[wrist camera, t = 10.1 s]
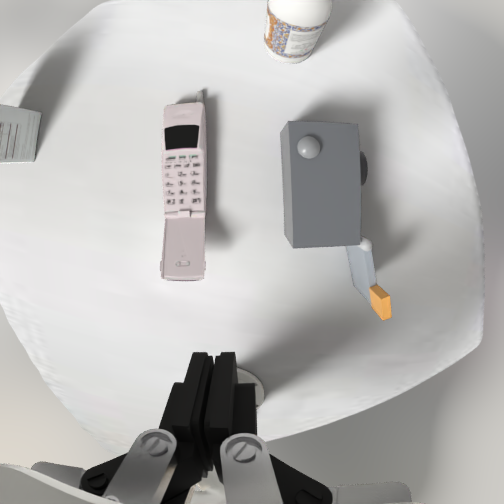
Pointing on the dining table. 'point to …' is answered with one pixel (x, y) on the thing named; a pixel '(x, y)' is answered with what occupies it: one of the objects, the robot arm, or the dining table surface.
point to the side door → (368, 277)
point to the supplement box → (18, 134)
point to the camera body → (322, 183)
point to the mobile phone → (184, 190)
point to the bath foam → (294, 28)
